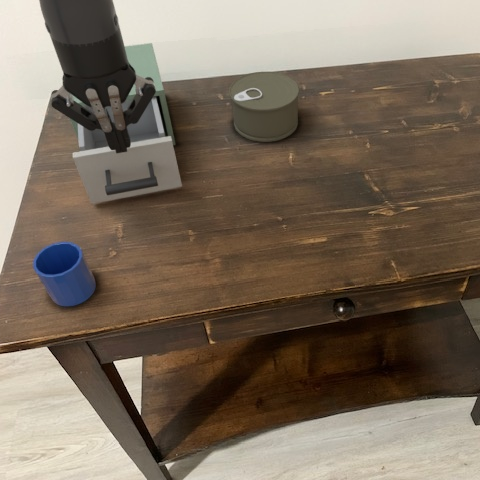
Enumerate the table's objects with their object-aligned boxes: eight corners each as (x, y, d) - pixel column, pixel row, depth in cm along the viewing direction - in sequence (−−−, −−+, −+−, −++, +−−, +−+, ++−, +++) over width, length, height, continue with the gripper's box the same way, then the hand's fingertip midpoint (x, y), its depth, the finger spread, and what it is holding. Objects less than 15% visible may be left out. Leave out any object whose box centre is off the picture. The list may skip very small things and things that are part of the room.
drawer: (187, 207, 80) (177, 161, 74) (92, 226, 77) (73, 180, 70) (169, 132, 92) (159, 87, 86) (87, 146, 89) (70, 100, 83)
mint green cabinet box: (175, 145, 92) (163, 89, 84) (85, 160, 88) (64, 104, 80) (163, 96, 102) (151, 42, 94) (82, 108, 98) (63, 54, 90)
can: (311, 130, 96) (311, 96, 91) (251, 150, 91) (248, 116, 86) (279, 97, 102) (277, 65, 97) (222, 115, 98) (217, 82, 93)
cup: (50, 311, 68) (32, 281, 63) (50, 278, 72) (33, 247, 67) (97, 300, 69) (82, 270, 65) (94, 268, 73) (81, 237, 68)
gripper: (140, 5, 64) (166, 126, 77) (22, 18, 61) (69, 141, 74) (147, 33, 59) (174, 157, 72) (19, 49, 56) (70, 175, 69)
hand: (121, 149), depth 73 cm, fingers closed
